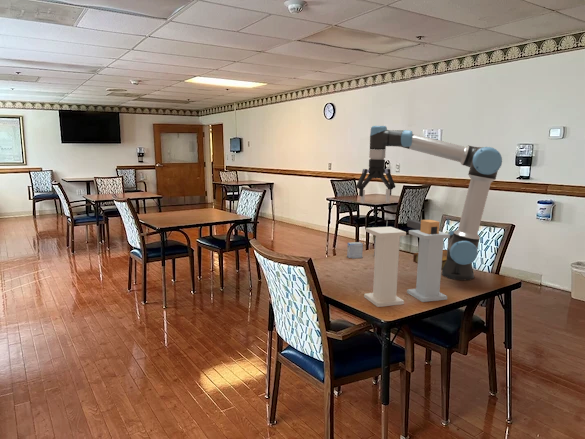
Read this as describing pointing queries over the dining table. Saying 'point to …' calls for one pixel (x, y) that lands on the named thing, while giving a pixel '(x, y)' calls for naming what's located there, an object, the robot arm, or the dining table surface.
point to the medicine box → (354, 250)
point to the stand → (385, 266)
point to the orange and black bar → (425, 226)
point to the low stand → (429, 266)
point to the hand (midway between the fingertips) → (375, 202)
